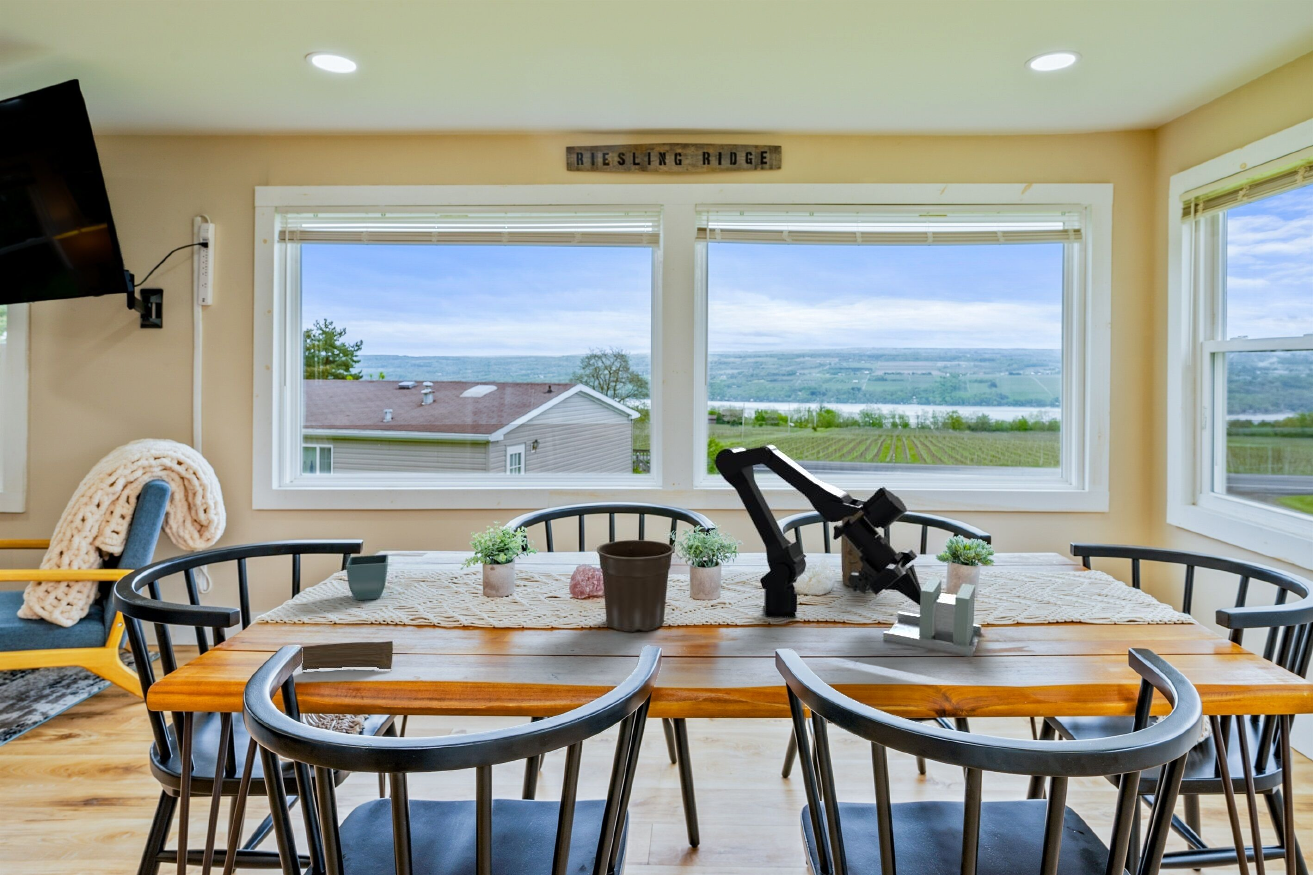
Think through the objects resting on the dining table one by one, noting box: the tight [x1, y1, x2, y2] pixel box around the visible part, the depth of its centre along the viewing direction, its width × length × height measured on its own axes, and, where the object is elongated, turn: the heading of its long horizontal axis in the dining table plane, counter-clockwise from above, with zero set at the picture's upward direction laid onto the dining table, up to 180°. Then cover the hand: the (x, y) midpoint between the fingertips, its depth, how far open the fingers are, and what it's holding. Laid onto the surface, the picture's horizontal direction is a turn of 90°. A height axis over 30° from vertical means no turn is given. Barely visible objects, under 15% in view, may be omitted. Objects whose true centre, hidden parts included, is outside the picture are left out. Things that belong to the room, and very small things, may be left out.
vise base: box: [882, 611, 982, 658], centre depth 141 cm, size 16×15×2 cm
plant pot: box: [596, 539, 675, 633], centre depth 150 cm, size 16×16×16 cm
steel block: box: [934, 592, 957, 643], centre depth 139 cm, size 4×6×8 cm, turn 150°
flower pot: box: [345, 554, 389, 601], centre depth 167 cm, size 9×9×9 cm
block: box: [840, 511, 876, 587], centre depth 179 cm, size 11×8×20 cm
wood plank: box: [301, 640, 394, 672], centre depth 126 cm, size 15×2×5 cm, turn 98°
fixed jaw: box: [953, 583, 976, 646], centre depth 138 cm, size 2×10×10 cm, turn 150°
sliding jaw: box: [919, 577, 942, 639], centre depth 141 cm, size 2×10×10 cm, turn 150°
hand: (923, 604), depth 141 cm, fingers closed, pressing on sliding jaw
